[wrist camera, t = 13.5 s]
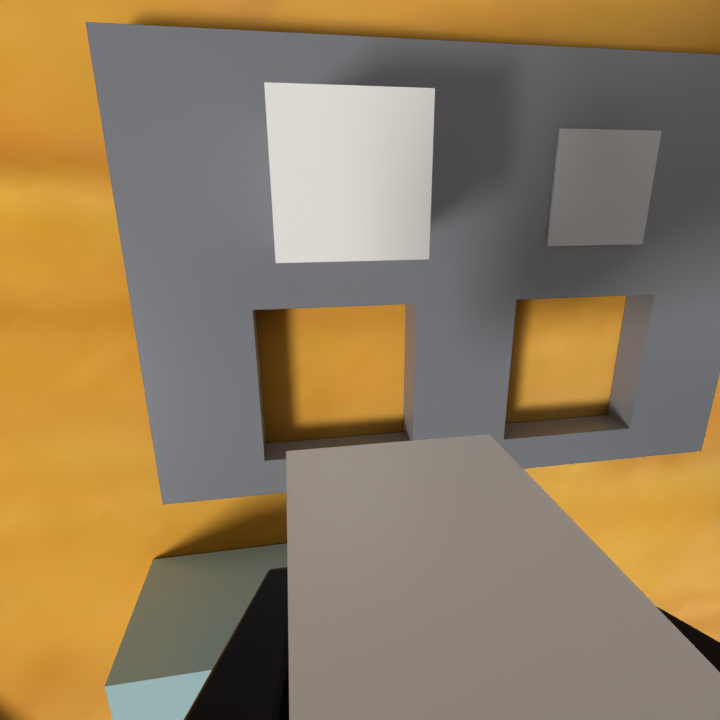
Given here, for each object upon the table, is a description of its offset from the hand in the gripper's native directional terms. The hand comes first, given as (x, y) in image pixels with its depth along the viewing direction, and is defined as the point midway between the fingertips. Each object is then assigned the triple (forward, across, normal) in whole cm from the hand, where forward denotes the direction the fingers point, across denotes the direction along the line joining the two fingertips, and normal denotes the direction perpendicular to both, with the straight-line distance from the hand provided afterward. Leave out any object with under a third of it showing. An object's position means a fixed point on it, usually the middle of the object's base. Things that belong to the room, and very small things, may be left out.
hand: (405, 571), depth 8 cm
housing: (+11, +5, +11) cm, 17 cm away
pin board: (+11, -5, -4) cm, 13 cm away
